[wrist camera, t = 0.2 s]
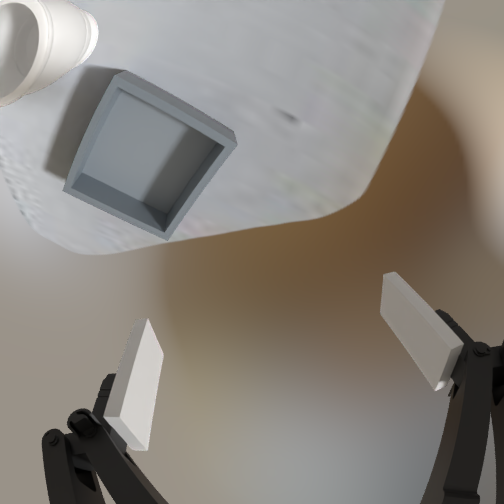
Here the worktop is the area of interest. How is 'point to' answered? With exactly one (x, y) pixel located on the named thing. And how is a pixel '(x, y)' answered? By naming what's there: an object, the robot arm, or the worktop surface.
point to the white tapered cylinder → (41, 44)
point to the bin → (147, 155)
